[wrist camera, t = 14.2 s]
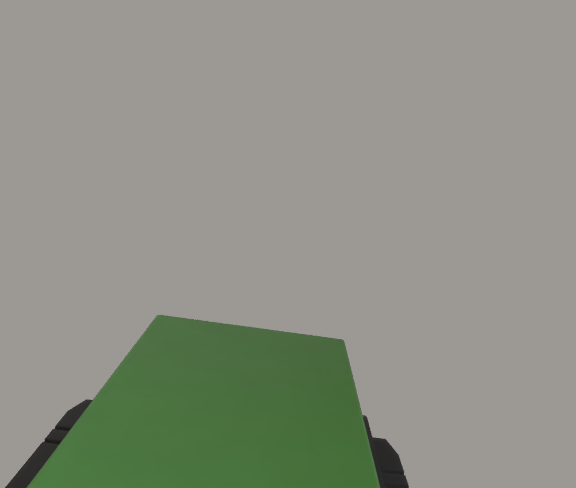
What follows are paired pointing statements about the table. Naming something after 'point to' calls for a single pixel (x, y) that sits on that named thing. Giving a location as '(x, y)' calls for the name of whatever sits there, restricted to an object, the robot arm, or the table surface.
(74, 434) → the tall green pillar block
